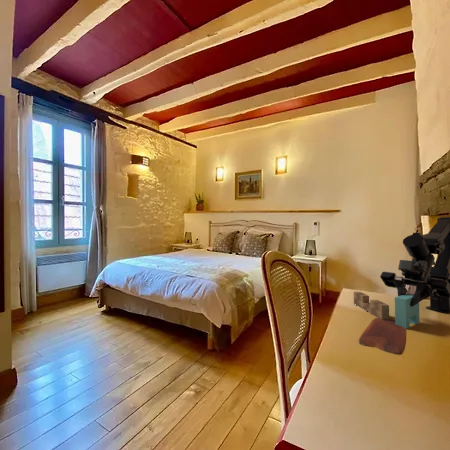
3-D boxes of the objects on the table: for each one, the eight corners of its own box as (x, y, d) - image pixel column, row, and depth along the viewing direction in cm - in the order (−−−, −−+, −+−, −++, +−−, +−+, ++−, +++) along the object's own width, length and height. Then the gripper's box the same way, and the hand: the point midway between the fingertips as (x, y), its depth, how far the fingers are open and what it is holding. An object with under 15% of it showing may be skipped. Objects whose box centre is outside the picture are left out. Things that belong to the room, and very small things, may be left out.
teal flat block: (409, 320, 84) (408, 293, 84) (419, 322, 82) (419, 295, 82) (395, 325, 80) (394, 297, 80) (406, 329, 77) (405, 299, 77)
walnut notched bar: (353, 303, 102) (353, 291, 102) (359, 303, 102) (359, 291, 102) (381, 320, 84) (381, 305, 84) (389, 320, 84) (389, 305, 84)
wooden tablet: (402, 358, 61) (402, 351, 61) (357, 346, 68) (356, 340, 68) (409, 324, 82) (409, 319, 82) (374, 317, 88) (374, 312, 88)
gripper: (382, 249, 91) (365, 283, 85) (448, 253, 75) (432, 296, 69) (394, 268, 95) (378, 302, 89) (458, 276, 79) (445, 319, 73)
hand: (405, 304), depth 80 cm, fingers closed on teal flat block, 3 cm apart
